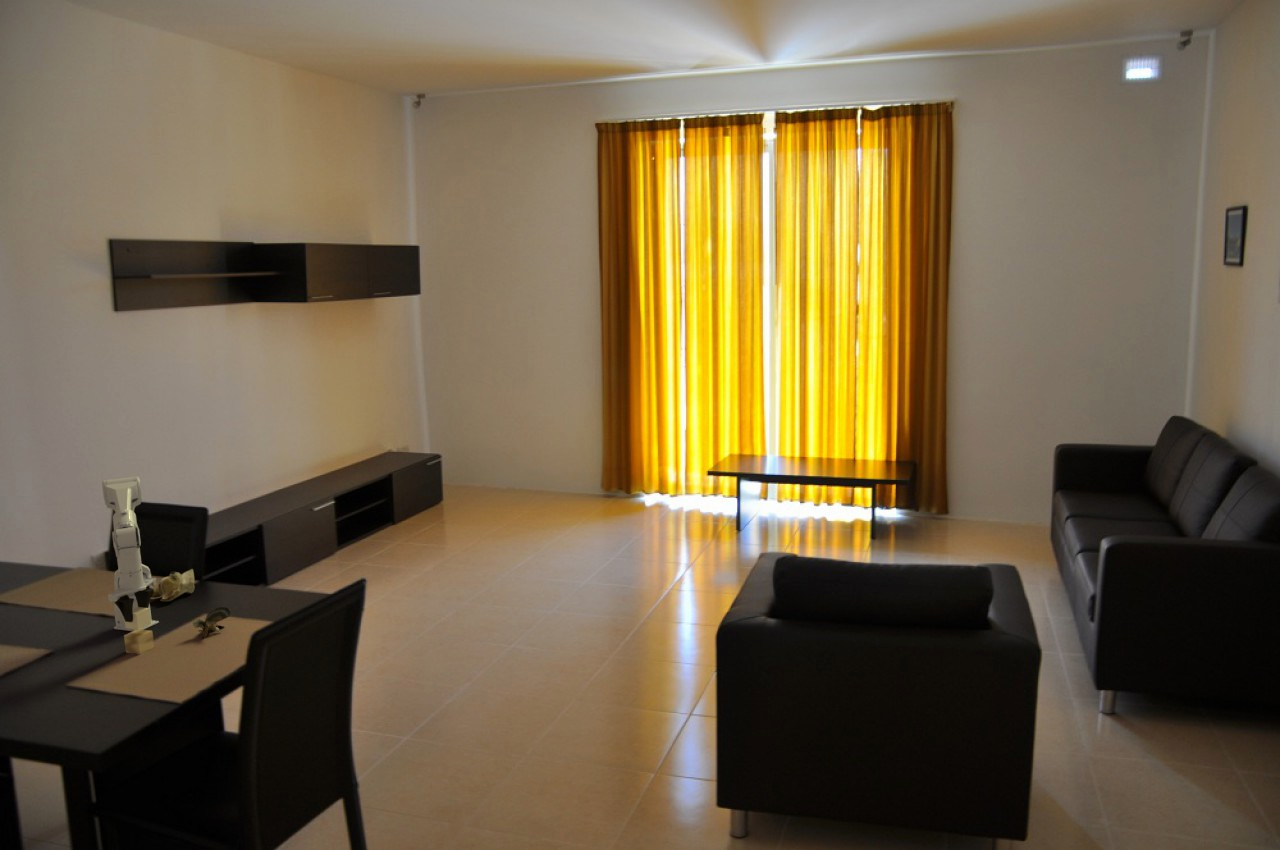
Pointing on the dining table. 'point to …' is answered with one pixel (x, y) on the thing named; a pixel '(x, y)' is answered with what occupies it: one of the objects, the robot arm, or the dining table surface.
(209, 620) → the eagle figurine
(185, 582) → the ceramic sculpture
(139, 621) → the cream block
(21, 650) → the dining table surface
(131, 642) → the oak base block
